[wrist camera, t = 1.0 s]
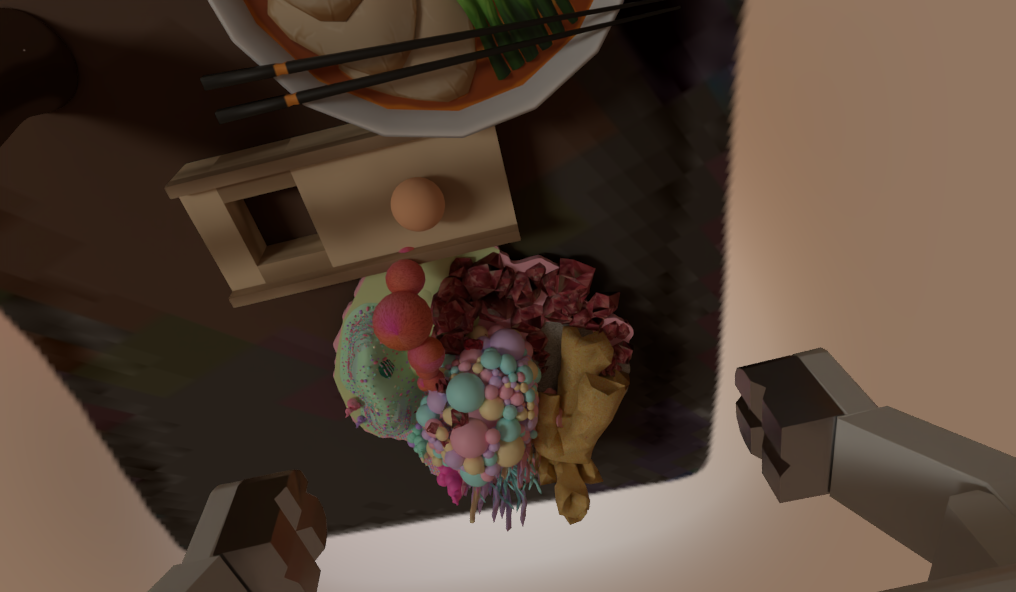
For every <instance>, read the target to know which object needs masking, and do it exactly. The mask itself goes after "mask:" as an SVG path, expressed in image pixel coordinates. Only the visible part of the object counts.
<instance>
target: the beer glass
mask: <svg viewBox="0 0 1016 592" xmlns="http://www.w3.org/2000/svg"><path fill="white" fill-rule="evenodd" d="M77 86H78V71H77V66H76V63H75V60H74V58H73V56H72V54H71V52H70V50H69V48H68V47H67V45H66V44H65V43H64V41H63V40H62V39H61V38H60V37H59V36H58V34H57V33H56V32H54V31H53V30H52V29H51V28H50V27H49V26H47V25H46V24H45V23H43V22H42V21H40V20H39V19H37V18H35V17H33V16H31V15H29V14H27V13H25V12H22V11H19V10H15V9H10V8H0V147H1V146H2V145H3V144H4V142H5V141H6V140H7V139H8V138H9V137H10V136H11V134H12V133H13V132H14V131H15V130H16V129H17V127H18V126H19V125H20V124H21V123H22V122H23V121H24V120H26V119H27V118H29V117H32V116H36V115H41V114H46V113H50V112H53V111H56V110H58V109H60V108H62V107H64V106H65V105H66V104H68V103H69V102H70V101H71V99H72V98H73V96H74V94H75V92H76V90H77Z"/></svg>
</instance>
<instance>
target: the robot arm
mask: <svg viewBox="0 0 1016 592" xmlns="http://www.w3.org/2000/svg"><path fill="white" fill-rule="evenodd" d="M735 385H736V387H737V389H738V390H739V392H740V393H741V397H740V398H739V400H738V401H737V402H736V414H737V420H738V424H739V428H740V432H741V434H742V437H743V439H744V441H745V444H746V445H747V447H748V449H749V451H750V453H751V454H753V455H755V456H757V457H758V458H761V459H762V474H763V475H764V477H765V479H766V480H767V482H768V484H769V486H770V487H771V489H772V491H773V492H774V494H775V496H776V497H777V499H778V501H779V502H780V503H783V502H788V501H793V500H798V499H803V498H809V497H814V496H820V495H825V494H830V496H831V497H832V498H833V499H835V500H837V501H838V502H840V503H841V504H843V505H844V506H846V507H847V508H849V509H850V510H852V511H854V512H855V513H856V514H858V515H859V516H861V517H862V518H864V519H865V520H867V521H868V522H870V523H871V524H873V525H874V526H876V527H877V528H879V529H880V530H882V531H884V532H885V533H886V534H888V535H890V536H891V537H892V538H894V539H895V540H897V541H898V542H900V543H902V544H903V545H905V546H906V547H908V548H909V549H911V550H912V551H914V552H915V553H917V554H918V555H920V556H921V557H923V558H924V559H926V560H927V561H929V562H930V563H932V567H931V571H930V575H929V578H928V581H927V582H922V583H918V584H913V585H908V586H903V587H899V588H894V589H889V590H885V591H880V592H1016V457H1013V456H1011V455H1008V454H1006V453H1003V452H1001V451H998V450H995V449H993V448H991V447H988V446H986V445H983V444H981V443H978V442H976V441H973V440H971V439H968V438H966V437H963V436H961V435H958V434H956V433H953V432H951V431H948V430H946V429H944V428H941V427H938V426H936V425H933V424H931V423H929V422H926V421H924V420H921V419H919V418H916V417H914V416H911V415H909V414H906V413H904V412H901V411H899V410H896V409H893V408H891V407H889V406H885V407H880V408H879V407H878V406H877V405H876V404H875V403H874V402H873V401H872V400H871V399H870V398H869V396H868V395H867V394H866V393H865V392H864V391H863V390H862V389H861V388H860V386H859V385H858V384H857V383H856V382H855V381H854V380H853V379H852V378H851V376H850V375H849V374H848V373H847V372H846V371H845V370H844V369H843V368H842V367H841V365H840V364H839V363H838V362H837V361H836V360H835V359H834V358H833V357H832V355H830V353H829V352H828V351H827V350H825V349H823V348H817V349H813V350H809V351H805V352H800V353H796V354H793V355H792V356H790V355H789V356H785V357H781V358H777V359H772V360H768V361H764V362H760V363H755V364H751V365H748V366H743V367H739V368H737V370H736V373H735ZM307 486H308V481H307V479H306V478H305V476H304V474H303V473H302V471H301V470H295V469H294V470H289V471H284V472H279V473H274V474H269V475H264V476H259V477H254V478H249V479H244V480H243V481H238V482H233V483H228V484H223V485H218V486H217V487H216V488H215V489H214V490H213V491H212V492H211V494H210V496H209V499H208V501H207V504H206V506H205V508H204V511H203V513H202V516H201V518H200V521H199V523H198V525H197V528H196V530H195V533H194V535H193V538H192V540H191V542H190V545H189V547H188V550H187V552H186V554H185V557H184V559H183V562H182V564H179V565H175V566H173V567H172V568H171V569H170V570H169V571H168V572H167V573H166V574H165V575H164V576H163V577H162V578H161V579H160V580H159V581H158V582H157V583H156V584H155V585H154V586H153V587H152V588H151V589H150V590H149V591H148V592H317V587H318V582H319V577H320V572H321V570H320V569H319V567H318V566H317V564H316V562H315V560H316V559H317V558H318V556H319V555H320V554H321V552H322V551H323V550H324V549H325V545H326V539H327V520H326V515H325V512H324V509H323V506H322V504H321V503H320V501H319V499H318V498H317V497H315V496H313V495H311V494H309V493H307V492H306V490H307Z"/></svg>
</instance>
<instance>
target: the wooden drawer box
mask: <svg viewBox="0 0 1016 592" xmlns="http://www.w3.org/2000/svg"><path fill="white" fill-rule="evenodd" d="M413 177H422V178H426V179H428V180H430V181H432V182H434V183H435V184H436V185H437V186H438V187H439V188H440V190H441V192H442V193H443V196H444V200H445V210H444V214H443V216H442V218H441V220H440V221H439V222H438V224H437V225H435V226H434V227H433V228H431V229H429V230H426V231H420V232H416V231H411V230H408V229H406V228H404V227H402V226H401V225H400V224H399V223H398V222H397V221H396V219H395V218H394V216H393V214H392V211H391V197H392V194H393V192H394V190H395V188H396V187H397V186H398V185H399V184H400V183H401V182H403V181H404V180H406V179H409V178H413ZM294 186H297V188H298V190H299V192H300V194H301V197H302V199H303V201H304V203H305V206H306V208H307V210H308V212H309V215H310V217H311V219H312V221H313V223H314V226H315V228H316V230H317V232H318V234H314V235H310V236H306V237H302V238H297V239H293V240H289V241H285V242H281V243H276V244H272V245H268V246H267V245H266V243H265V241H264V239H263V237H262V235H261V233H260V231H259V229H258V227H257V225H256V223H255V221H254V219H253V217H252V216H251V214H250V212H249V210H248V208H247V206H246V204H245V202H244V200H243V199H245V198H249V197H253V196H257V195H261V194H265V193H269V192H273V191H277V190H282V189H286V188H290V187H294ZM164 189H165V190H166V192H167V194H168V195H169V197H170V199H173V198H178V197H179V198H180V200H181V202H182V204H183V205H184V207H185V209H186V211H187V212H188V214H189V216H190V218H191V219H192V221H193V223H194V225H195V226H196V228H197V230H198V232H199V233H200V235H201V237H202V239H203V240H204V242H205V244H206V246H207V247H208V249H209V251H210V253H211V254H212V256H213V258H214V260H215V261H216V263H217V265H218V267H219V268H220V270H221V272H222V274H223V275H224V277H225V279H226V281H227V282H228V284H229V286H230V288H231V289H232V293H231V295H230V297H229V300H230V302H231V304H232V305H233V307H234V308H236V307H240V306H244V305H248V304H252V303H257V302H261V301H265V300H269V299H274V298H278V297H282V296H286V295H291V294H295V293H299V292H303V291H308V290H312V289H316V288H320V287H325V286H329V285H333V284H337V283H342V282H346V281H350V280H354V279H358V278H363V277H367V276H371V275H375V274H380V273H384V272H387V270H388V269H389V268H390V266H391V265H392V264H393V263H395V262H397V261H399V260H403V259H409V260H412V261H415V262H416V263H418V264H422V263H426V262H431V261H435V260H439V259H443V258H447V257H452V256H456V255H460V254H464V253H469V252H473V251H477V250H481V249H486V248H490V247H494V246H498V245H503V244H507V243H511V242H515V241H520V240H521V238H520V234H519V229H518V225H517V221H516V216H515V212H514V208H513V203H512V199H511V195H510V190H509V186H508V182H507V177H506V173H505V169H504V164H503V160H502V156H501V151H500V147H499V143H498V138H497V134H496V130H495V126H492V127H490V128H487V129H485V130H482V131H480V132H477V133H475V134H472V135H470V136H467V137H465V138H430V137H384V136H381V135H378V134H376V133H373V132H371V131H368V130H366V129H363V128H361V127H358V126H356V125H353V124H346V125H342V126H337V127H333V128H329V129H325V130H321V131H317V132H313V133H309V134H305V135H301V136H297V137H293V138H289V139H285V140H281V141H276V142H272V143H268V144H264V145H260V146H256V147H252V148H248V149H244V150H240V151H236V152H232V153H228V154H224V155H220V156H215V157H211V158H207V159H203V160H199V161H195V162H191V163H187V164H185V165H184V166H183V167H182V169H181V170H180V171H179V172H178V173H177V174H176V175H175V176H174V177H173V178H172V180H171V181H170V182H169V183H168V184H167V185H166V186H165V187H164ZM404 247H414V249H413V250H411V251H409V252H405V253H400V252H399V251H400V250H401V249H402V248H404Z"/></svg>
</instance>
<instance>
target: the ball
mask: <svg viewBox="0 0 1016 592" xmlns="http://www.w3.org/2000/svg"><path fill="white" fill-rule="evenodd" d="M444 210H445V200H444V196H443V193H442V192H441V190H440V188H439V187H438V186H437V185H436V184H435V183H434V182H432V181H430V180H428V179H426V178H422V177H413V178H409V179H406V180H404V181H403V182H401V183H400V184H399V185H398V186H397V187H396V188H395V190H394V192H393V194H392V197H391V211H392V214H393V216H394V218H395V219H396V221H397V222H398V223H399V224H400V225H401V226H402V227H404V228H406V229H408V230H411V231H416V232H420V231H426V230H429V229H431V228H433V227H434V226H435V225H437V224H438V222H439V221H440V220H441V218H442V216H443V214H444Z"/></svg>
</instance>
